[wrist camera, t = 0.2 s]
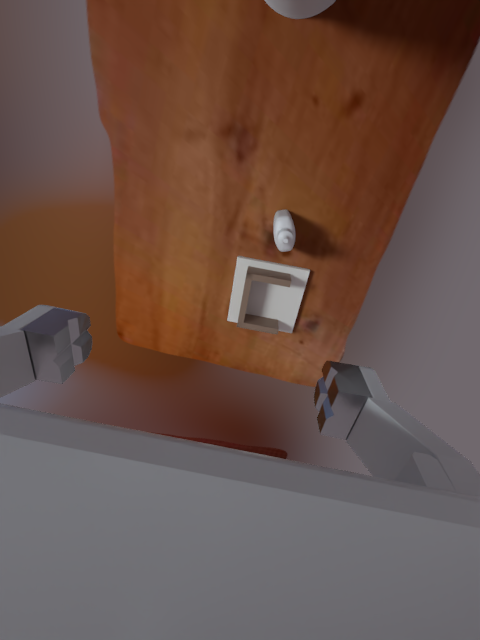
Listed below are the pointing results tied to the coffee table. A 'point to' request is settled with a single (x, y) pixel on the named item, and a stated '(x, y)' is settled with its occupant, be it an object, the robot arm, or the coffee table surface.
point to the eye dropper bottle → (284, 230)
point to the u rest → (266, 295)
